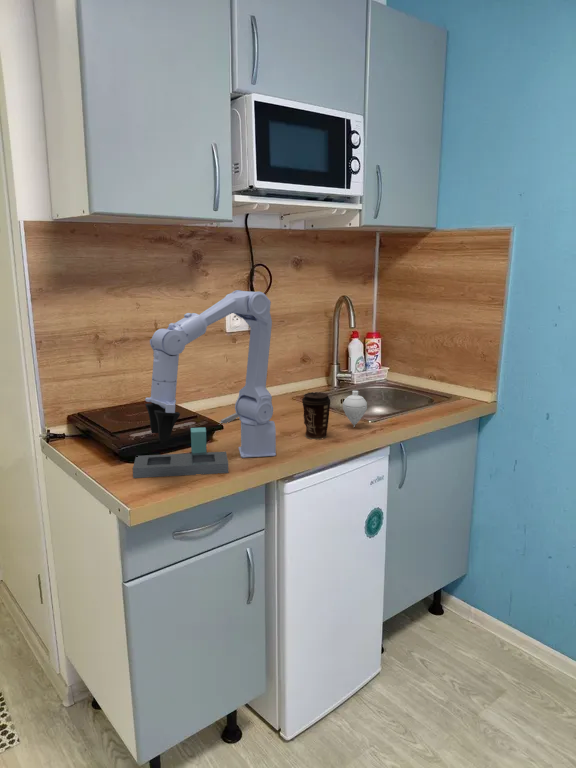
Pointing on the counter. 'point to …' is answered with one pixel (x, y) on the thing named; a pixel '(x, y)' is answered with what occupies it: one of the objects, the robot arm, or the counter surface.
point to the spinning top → (354, 407)
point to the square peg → (198, 440)
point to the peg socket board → (180, 464)
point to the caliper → (229, 418)
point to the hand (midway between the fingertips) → (159, 436)
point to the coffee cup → (316, 414)
